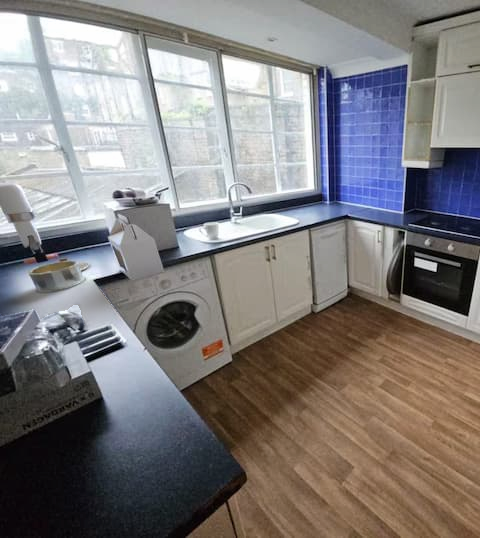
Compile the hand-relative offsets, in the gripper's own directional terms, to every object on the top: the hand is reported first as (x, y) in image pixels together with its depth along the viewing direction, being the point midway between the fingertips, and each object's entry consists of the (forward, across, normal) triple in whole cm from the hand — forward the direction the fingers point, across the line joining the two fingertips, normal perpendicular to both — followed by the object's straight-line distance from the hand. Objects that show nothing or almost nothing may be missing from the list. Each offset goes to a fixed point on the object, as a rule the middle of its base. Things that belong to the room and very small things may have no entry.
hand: (42, 260), depth 121 cm
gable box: (+15, +3, +30) cm, 34 cm away
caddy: (+14, -9, +2) cm, 17 cm away
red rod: (0, 0, 0) cm, 0 cm away
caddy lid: (+14, -29, +6) cm, 33 cm away
